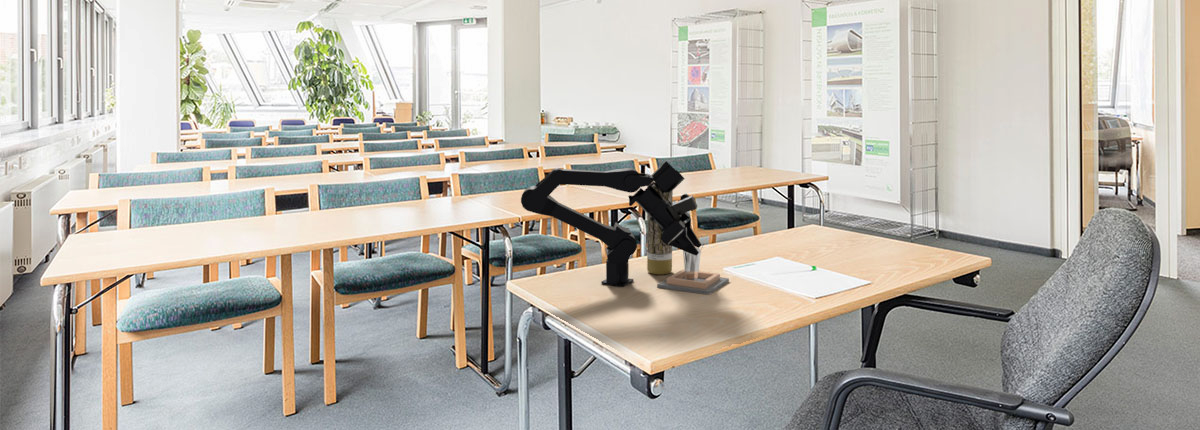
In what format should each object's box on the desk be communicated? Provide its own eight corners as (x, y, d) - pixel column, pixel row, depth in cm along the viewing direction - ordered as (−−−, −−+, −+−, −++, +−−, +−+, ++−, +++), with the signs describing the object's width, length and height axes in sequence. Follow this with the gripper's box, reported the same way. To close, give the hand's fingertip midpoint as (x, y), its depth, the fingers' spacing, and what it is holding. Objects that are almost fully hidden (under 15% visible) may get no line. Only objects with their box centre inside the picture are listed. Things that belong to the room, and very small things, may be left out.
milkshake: (704, 283, 180) (705, 245, 178) (683, 283, 180) (683, 245, 178) (702, 278, 184) (703, 241, 183) (682, 278, 185) (682, 241, 183)
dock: (708, 294, 173) (709, 285, 173) (657, 287, 180) (657, 278, 180) (728, 281, 185) (728, 273, 184) (679, 274, 192) (679, 267, 191)
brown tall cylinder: (670, 275, 191) (671, 184, 187) (645, 274, 192) (645, 183, 188) (673, 269, 197) (673, 181, 193) (648, 268, 199) (649, 180, 194)
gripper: (674, 189, 170) (720, 236, 169) (682, 180, 188) (723, 222, 187) (642, 221, 173) (686, 266, 172) (652, 208, 191) (693, 250, 190)
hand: (698, 250), depth 181 cm, fingers open, 9 cm apart
